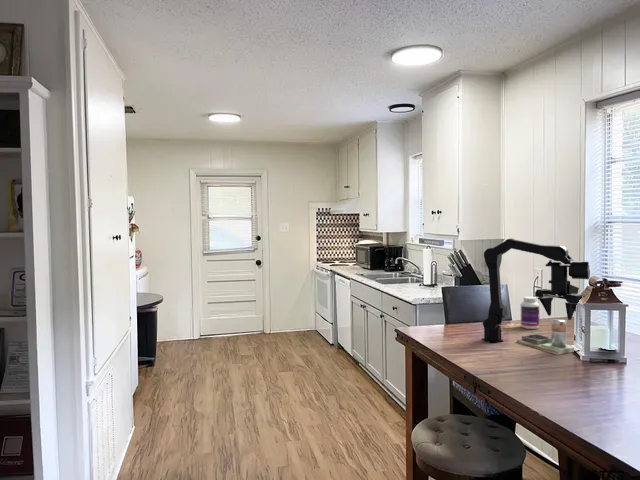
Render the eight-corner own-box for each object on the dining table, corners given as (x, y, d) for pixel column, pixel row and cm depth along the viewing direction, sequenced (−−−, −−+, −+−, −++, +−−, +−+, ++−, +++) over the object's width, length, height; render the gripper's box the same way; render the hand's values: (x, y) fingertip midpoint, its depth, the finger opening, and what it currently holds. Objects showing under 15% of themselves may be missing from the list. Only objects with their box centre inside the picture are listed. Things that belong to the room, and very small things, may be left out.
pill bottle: (542, 329, 215) (542, 298, 215) (524, 329, 215) (524, 299, 215) (534, 325, 223) (534, 295, 223) (517, 325, 224) (517, 296, 223)
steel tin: (559, 348, 179) (559, 322, 179) (548, 344, 184) (548, 319, 184) (569, 346, 181) (569, 321, 181) (557, 343, 186) (558, 318, 186)
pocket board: (557, 354, 176) (557, 348, 176) (516, 342, 195) (516, 336, 195) (580, 350, 181) (580, 344, 181) (538, 338, 199) (538, 332, 199)
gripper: (595, 279, 176) (595, 320, 177) (553, 274, 193) (554, 311, 194) (574, 281, 172) (574, 323, 172) (533, 276, 189) (534, 314, 189)
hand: (559, 317), depth 182 cm, fingers open, 9 cm apart
